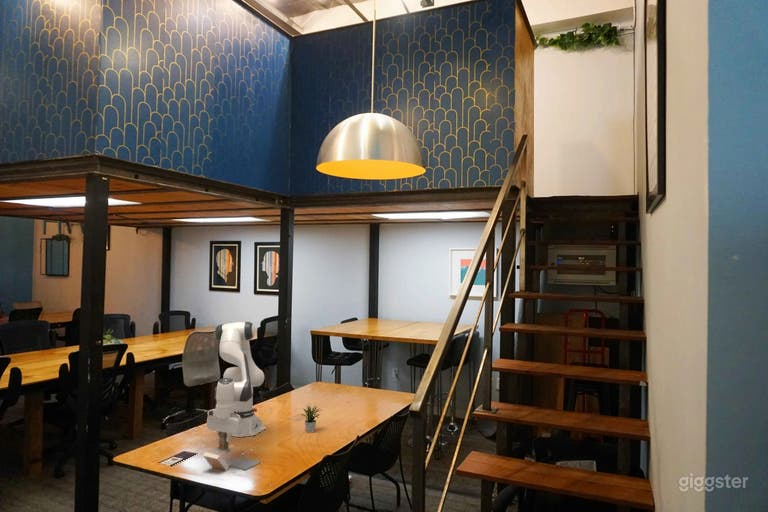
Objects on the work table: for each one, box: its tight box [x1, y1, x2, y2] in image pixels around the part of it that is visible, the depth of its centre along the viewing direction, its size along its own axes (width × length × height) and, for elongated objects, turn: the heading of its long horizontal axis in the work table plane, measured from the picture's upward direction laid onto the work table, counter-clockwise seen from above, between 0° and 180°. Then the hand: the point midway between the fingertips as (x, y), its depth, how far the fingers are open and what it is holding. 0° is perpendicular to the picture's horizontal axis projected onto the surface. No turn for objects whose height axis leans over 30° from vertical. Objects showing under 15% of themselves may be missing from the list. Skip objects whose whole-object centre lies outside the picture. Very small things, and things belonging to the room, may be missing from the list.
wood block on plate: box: [212, 432, 235, 455], centre depth 241 cm, size 6×8×13 cm
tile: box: [203, 452, 229, 472], centre depth 236 cm, size 2×9×10 cm
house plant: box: [300, 403, 323, 433], centre depth 298 cm, size 14×14×16 cm
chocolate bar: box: [157, 450, 199, 467], centre depth 250 cm, size 9×1×18 cm
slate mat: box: [227, 458, 261, 471], centre depth 244 cm, size 11×11×1 cm
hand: (223, 440), depth 241 cm, fingers closed on wood block on plate, 3 cm apart
